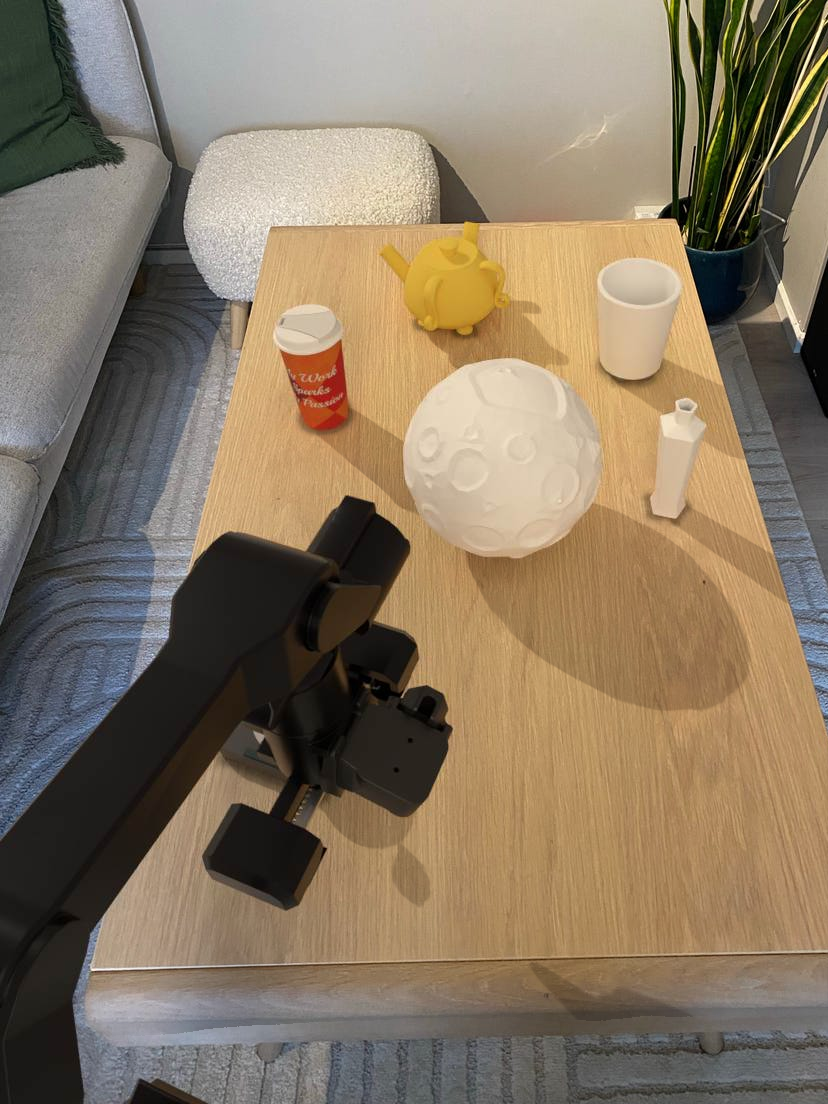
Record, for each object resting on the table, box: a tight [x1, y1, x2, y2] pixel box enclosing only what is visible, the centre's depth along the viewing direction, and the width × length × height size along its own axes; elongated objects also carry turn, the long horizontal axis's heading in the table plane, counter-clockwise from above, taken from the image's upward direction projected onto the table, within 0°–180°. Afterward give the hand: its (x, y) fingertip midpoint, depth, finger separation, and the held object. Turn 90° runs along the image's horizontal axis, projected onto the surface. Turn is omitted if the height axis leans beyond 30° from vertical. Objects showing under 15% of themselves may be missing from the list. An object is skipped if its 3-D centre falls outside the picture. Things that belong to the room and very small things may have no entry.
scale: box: [219, 721, 315, 791], centre depth 82 cm, size 10×10×3 cm
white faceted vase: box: [649, 397, 708, 519], centre depth 94 cm, size 5×4×15 cm
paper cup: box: [272, 303, 349, 431], centre depth 106 cm, size 8×8×14 cm
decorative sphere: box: [402, 357, 603, 560], centre depth 92 cm, size 20×20×20 cm
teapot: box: [378, 221, 511, 335], centre depth 119 cm, size 14×14×11 cm
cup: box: [596, 257, 684, 383], centre depth 110 cm, size 10×10×13 cm
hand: (338, 800), depth 65 cm, fingers open, 9 cm apart
